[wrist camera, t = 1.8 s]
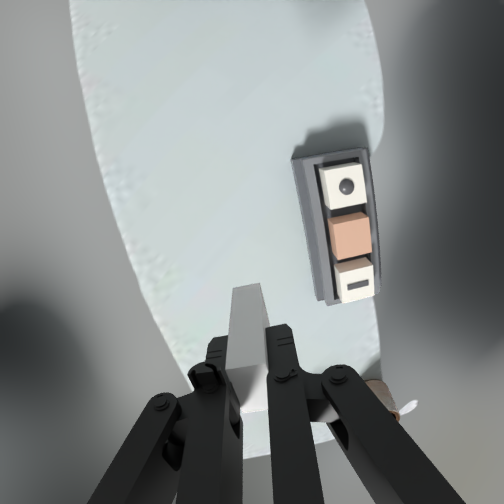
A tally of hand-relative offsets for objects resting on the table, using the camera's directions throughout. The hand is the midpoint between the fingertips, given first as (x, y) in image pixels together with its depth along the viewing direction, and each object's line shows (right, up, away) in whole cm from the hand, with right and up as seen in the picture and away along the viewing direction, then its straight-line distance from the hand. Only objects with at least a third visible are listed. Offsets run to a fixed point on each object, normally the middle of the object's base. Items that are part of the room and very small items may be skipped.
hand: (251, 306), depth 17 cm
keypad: (+13, +7, +28) cm, 31 cm away
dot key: (+12, +12, +22) cm, 28 cm away
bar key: (+15, 0, +27) cm, 31 cm away
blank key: (+13, +6, +24) cm, 28 cm away
